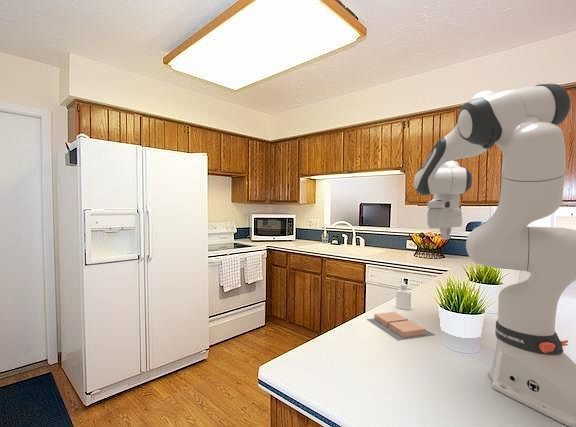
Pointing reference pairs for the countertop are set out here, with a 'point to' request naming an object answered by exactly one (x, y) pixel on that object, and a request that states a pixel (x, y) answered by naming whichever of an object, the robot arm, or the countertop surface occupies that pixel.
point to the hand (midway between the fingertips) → (445, 239)
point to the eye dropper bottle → (403, 298)
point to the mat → (392, 333)
